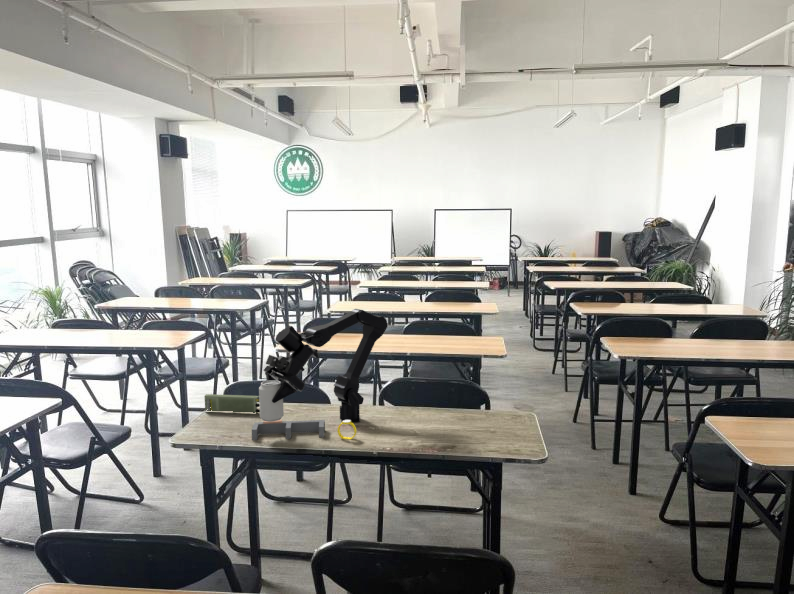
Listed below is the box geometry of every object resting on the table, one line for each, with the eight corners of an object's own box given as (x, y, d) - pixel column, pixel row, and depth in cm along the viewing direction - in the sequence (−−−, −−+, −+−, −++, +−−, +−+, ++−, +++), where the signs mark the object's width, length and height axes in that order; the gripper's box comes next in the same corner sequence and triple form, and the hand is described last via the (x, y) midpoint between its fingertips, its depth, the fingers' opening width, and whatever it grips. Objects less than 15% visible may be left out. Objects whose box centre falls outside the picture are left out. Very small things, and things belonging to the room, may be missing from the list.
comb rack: (324, 429, 193) (324, 418, 193) (325, 437, 186) (324, 424, 186) (254, 432, 190) (254, 420, 190) (251, 440, 183) (251, 427, 183)
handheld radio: (208, 410, 215) (272, 413, 212) (204, 413, 212) (269, 416, 209) (207, 393, 214) (272, 395, 211) (203, 396, 211) (269, 398, 208)
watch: (337, 440, 184) (335, 422, 184) (340, 437, 187) (338, 419, 187) (355, 440, 183) (353, 422, 183) (357, 437, 186) (356, 419, 185)
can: (254, 419, 184) (253, 383, 183) (271, 413, 190) (270, 378, 189) (272, 423, 180) (271, 386, 179) (288, 417, 186) (287, 381, 185)
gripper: (268, 341, 192) (237, 379, 187) (294, 349, 178) (262, 391, 172) (290, 361, 198) (261, 398, 192) (317, 371, 183) (287, 411, 178)
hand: (267, 399), depth 183 cm, fingers closed on can, 7 cm apart
